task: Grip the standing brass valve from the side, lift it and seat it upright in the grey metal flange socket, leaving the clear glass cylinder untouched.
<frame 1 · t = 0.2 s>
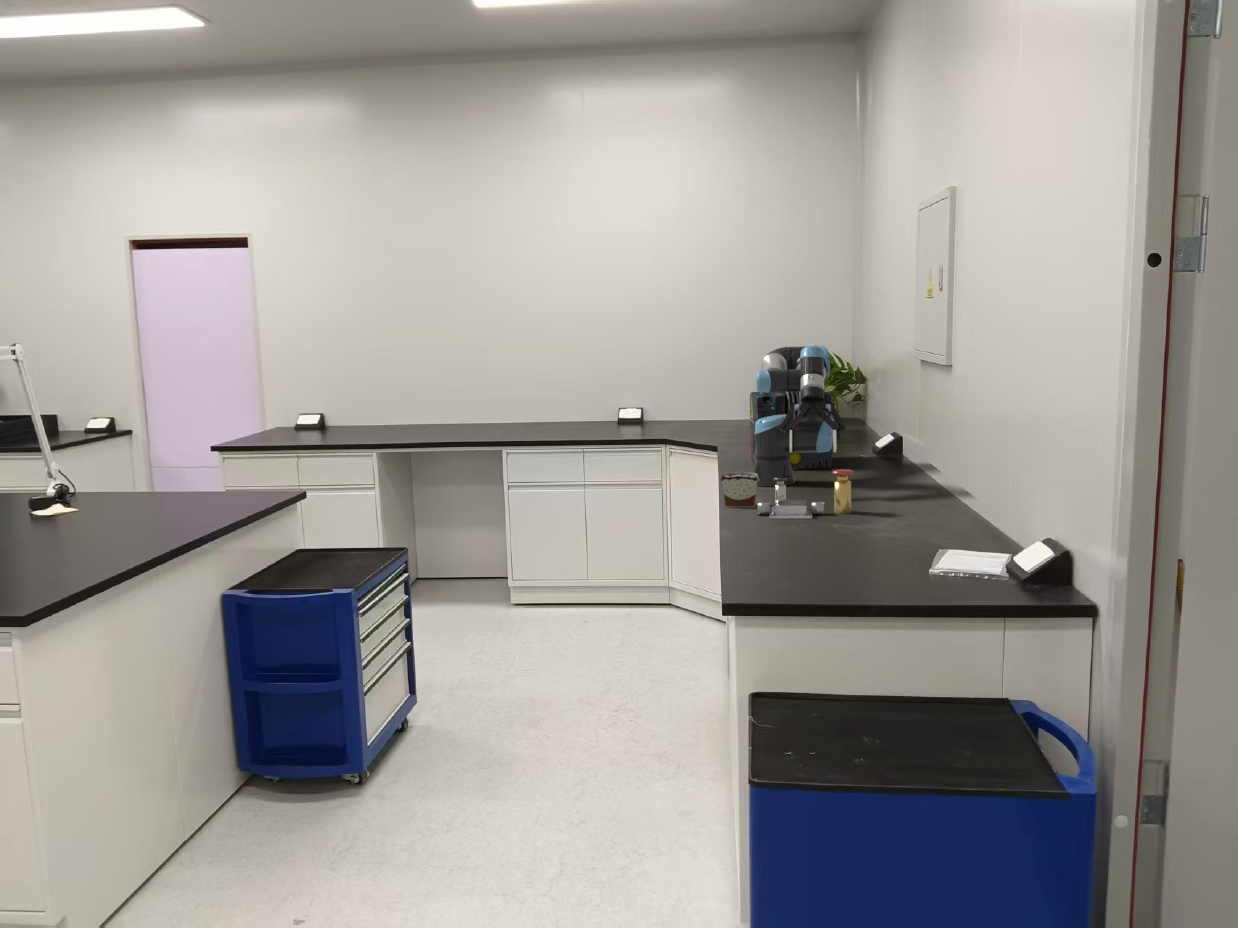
hand: (812, 450, 305), 15 cm above the worktop, fingers open, 13 cm apart
food container: (741, 505, 301), on the worktop
power unit: (790, 464, 378), on the worktop
clear glass cylinder: (780, 505, 298), on the worktop
flange socket: (790, 514, 285), on the worktop
brass valve: (842, 512, 285), on the worktop
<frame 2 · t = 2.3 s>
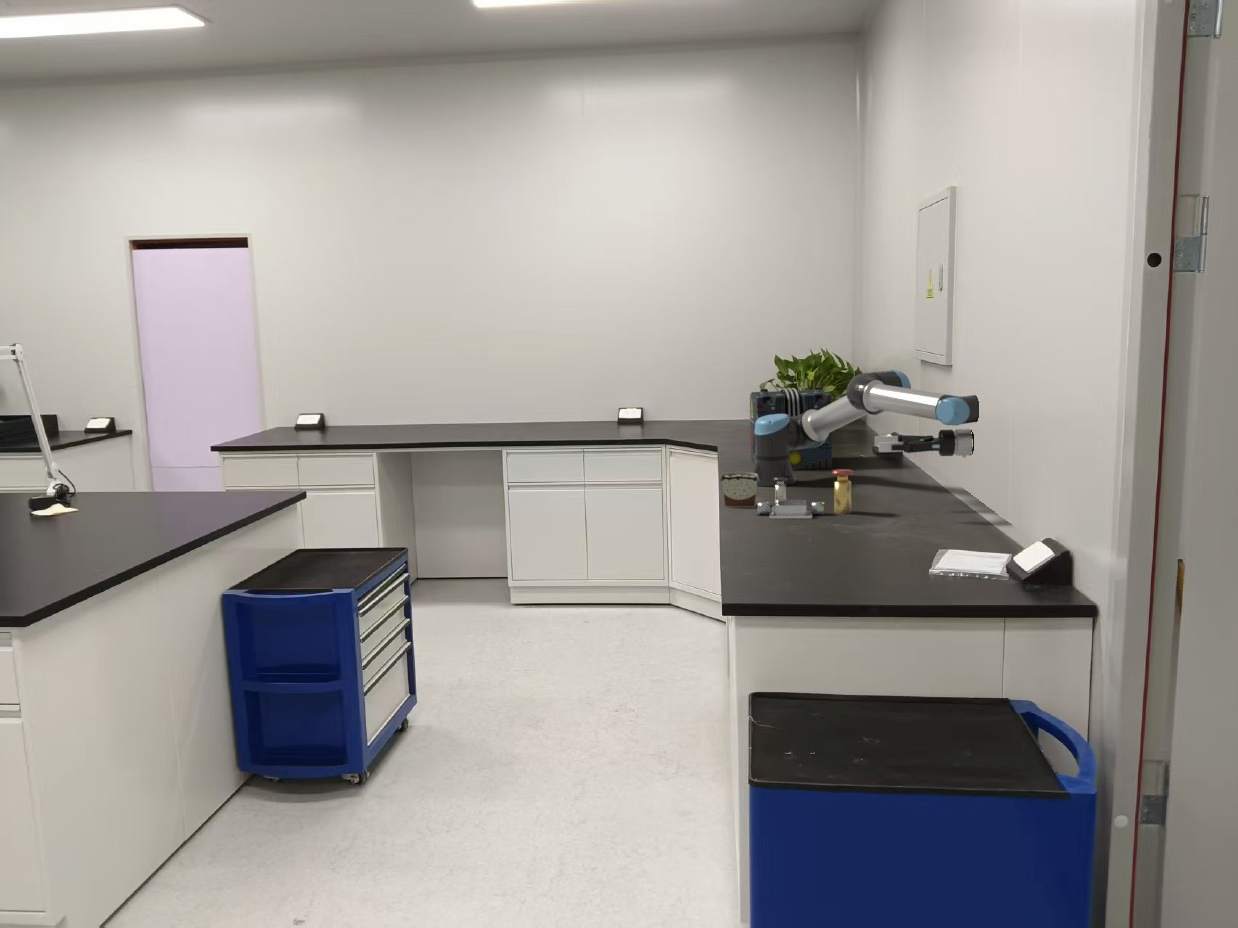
hand: (876, 444, 280), 20 cm above the worktop, fingers open, 13 cm apart
nothing on the worktop moved.
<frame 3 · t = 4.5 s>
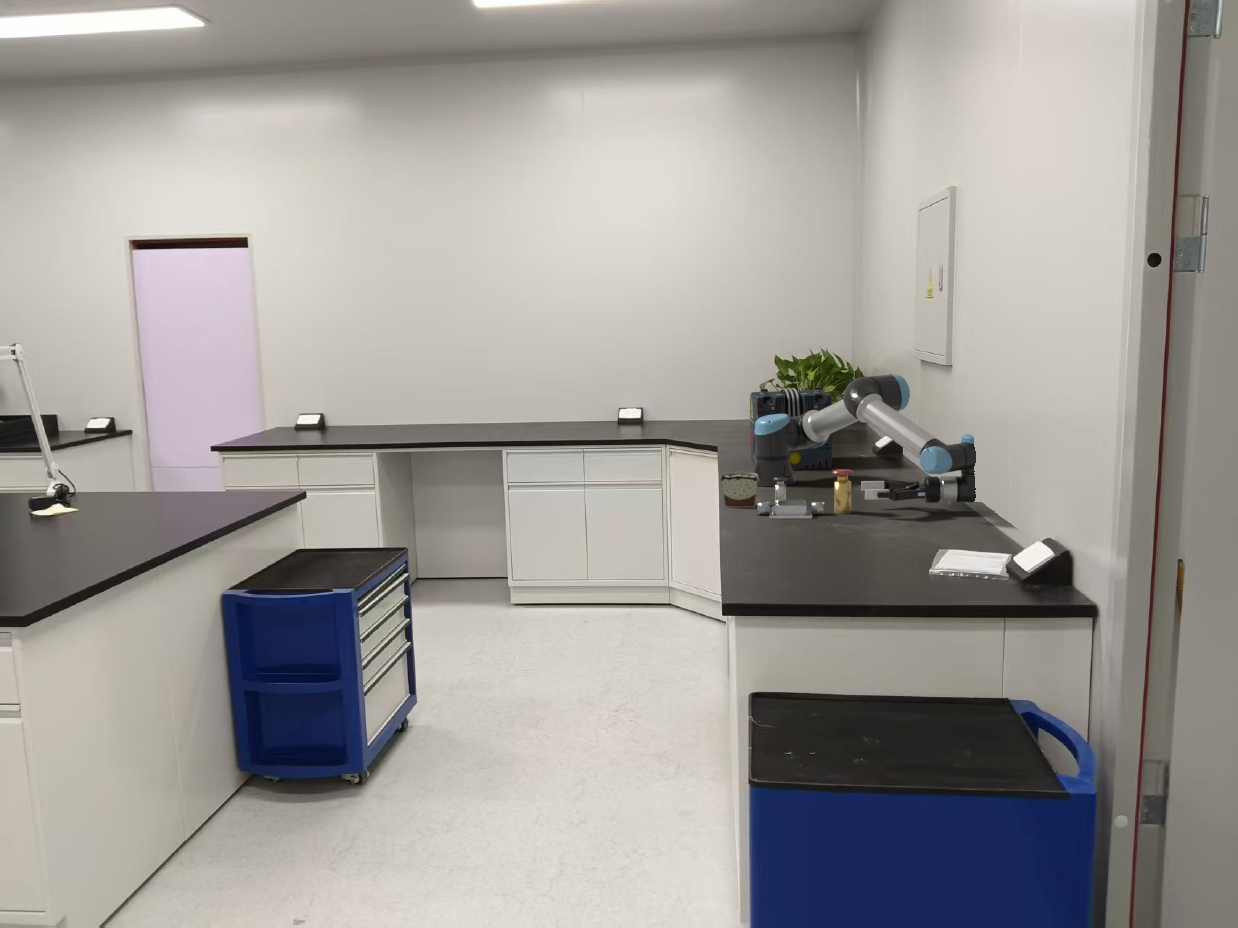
hand: (863, 490, 282), 7 cm above the worktop, fingers open, 13 cm apart
nothing on the worktop moved.
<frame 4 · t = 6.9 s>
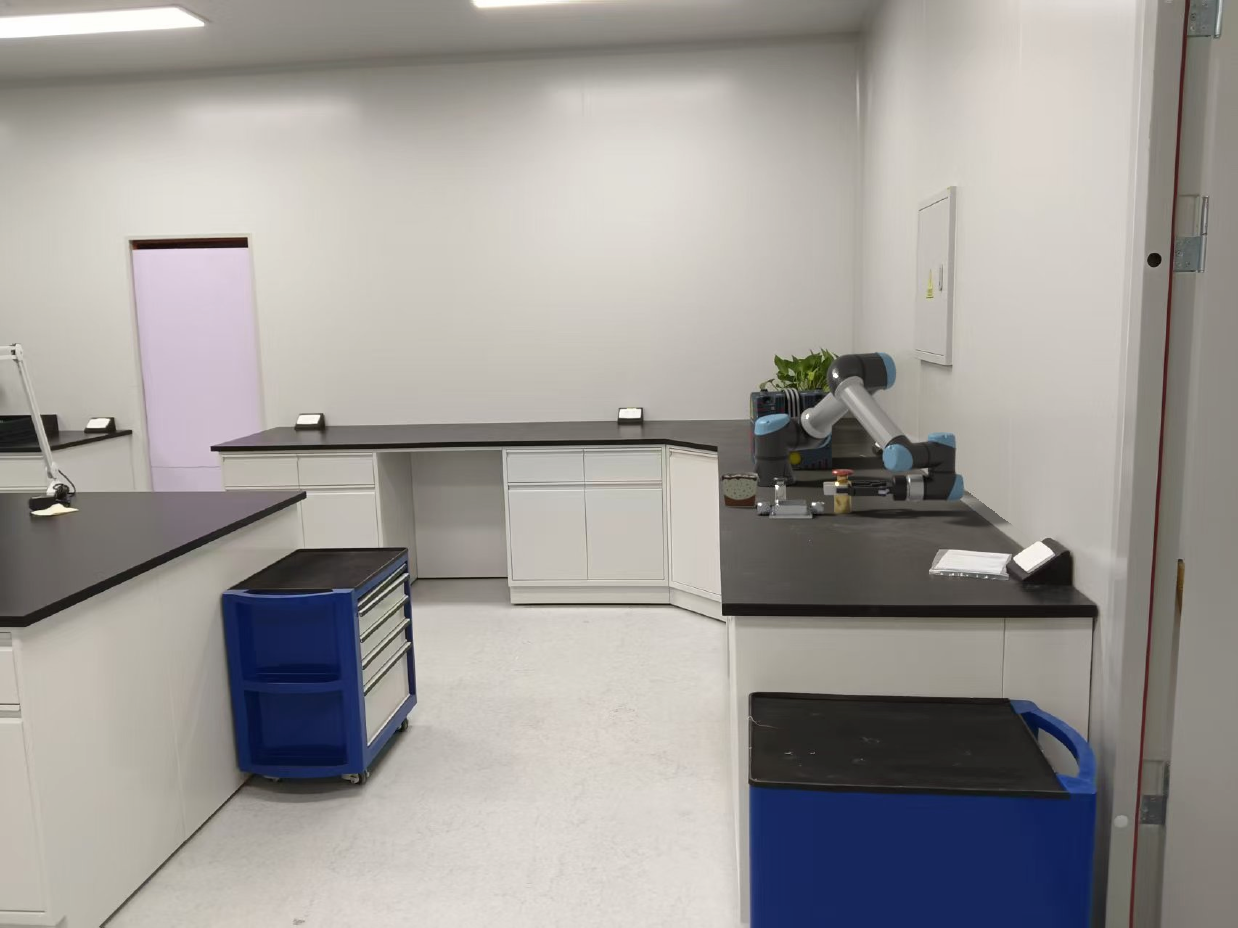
hand: (824, 488, 285), 7 cm above the worktop, fingers closed on brass valve, 5 cm apart
brass valve: (842, 512, 285), on the worktop, touching gripper
everything else where it was.
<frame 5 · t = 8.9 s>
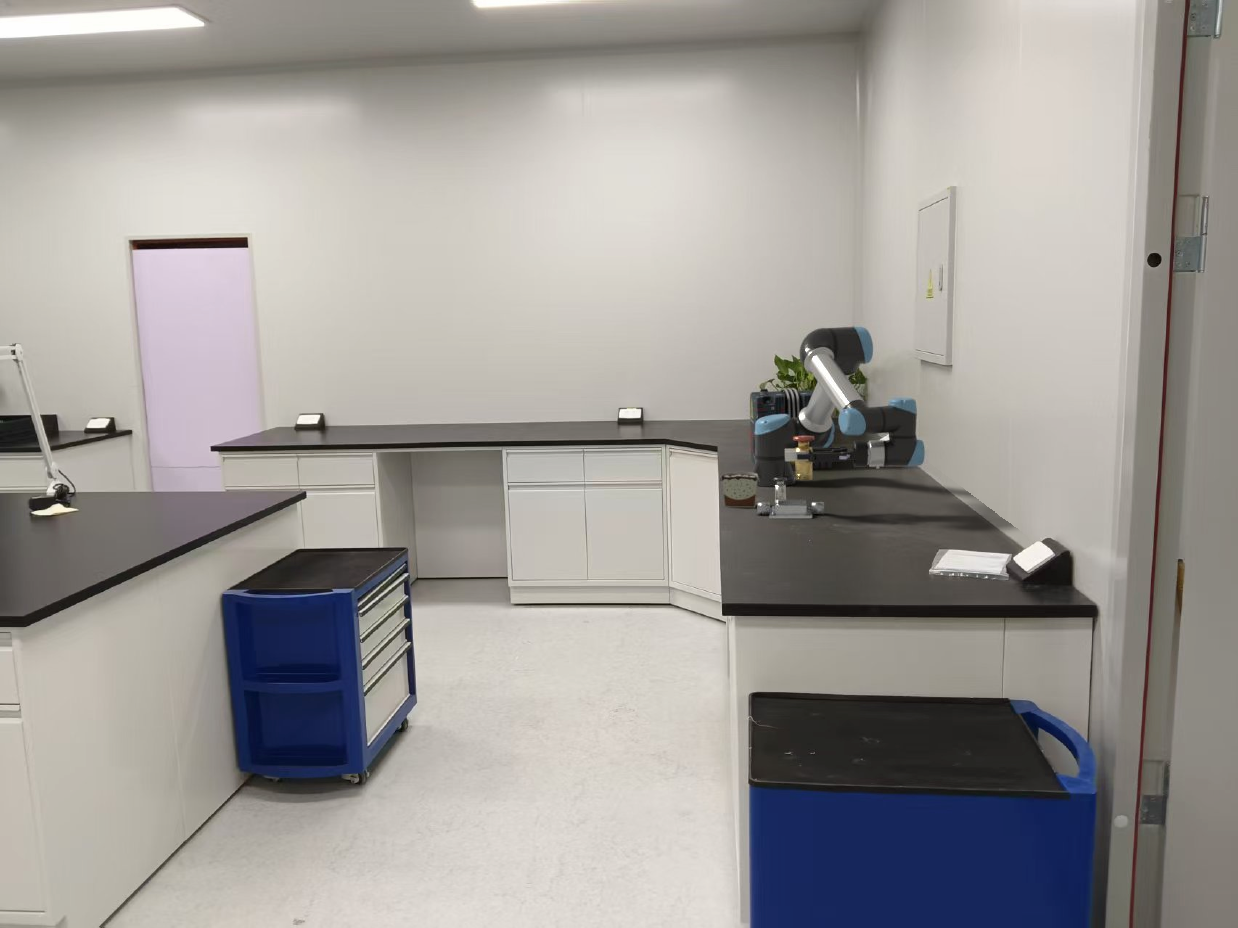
hand: (785, 455, 282), 18 cm above the worktop, fingers closed on brass valve, 5 cm apart
brass valve: (804, 478, 282), point 10 cm above the worktop, touching gripper
everything else where it was.
when the fingers open (9 cm above the worktop, at t = 11.1 s): brass valve drops 1 cm, resting on flange socket.
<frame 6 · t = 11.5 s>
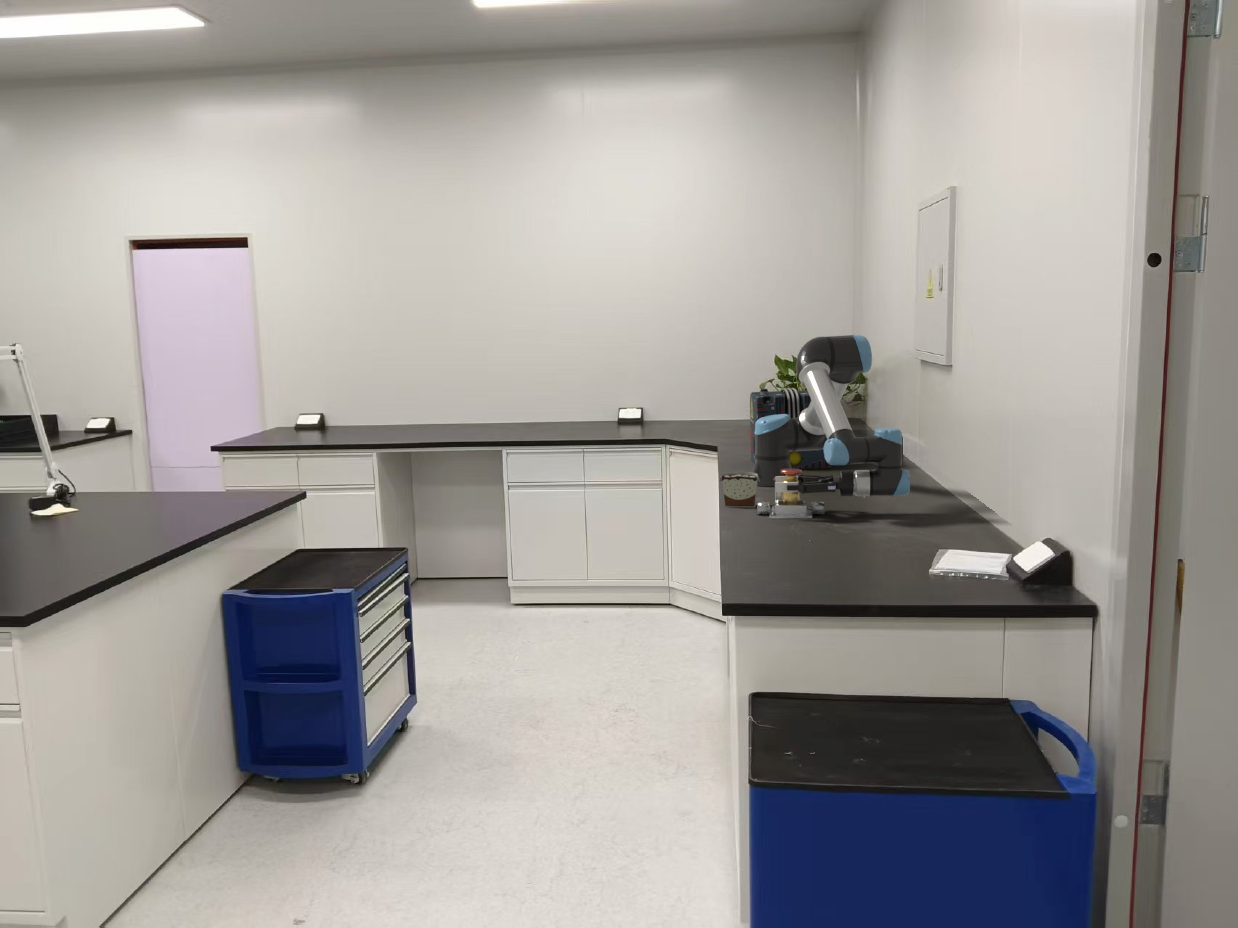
hand: (775, 484, 284), 9 cm above the worktop, fingers open, 10 cm apart
brass valve: (790, 511, 284), point 1 cm above the worktop, touching flange socket
everything else where it was.
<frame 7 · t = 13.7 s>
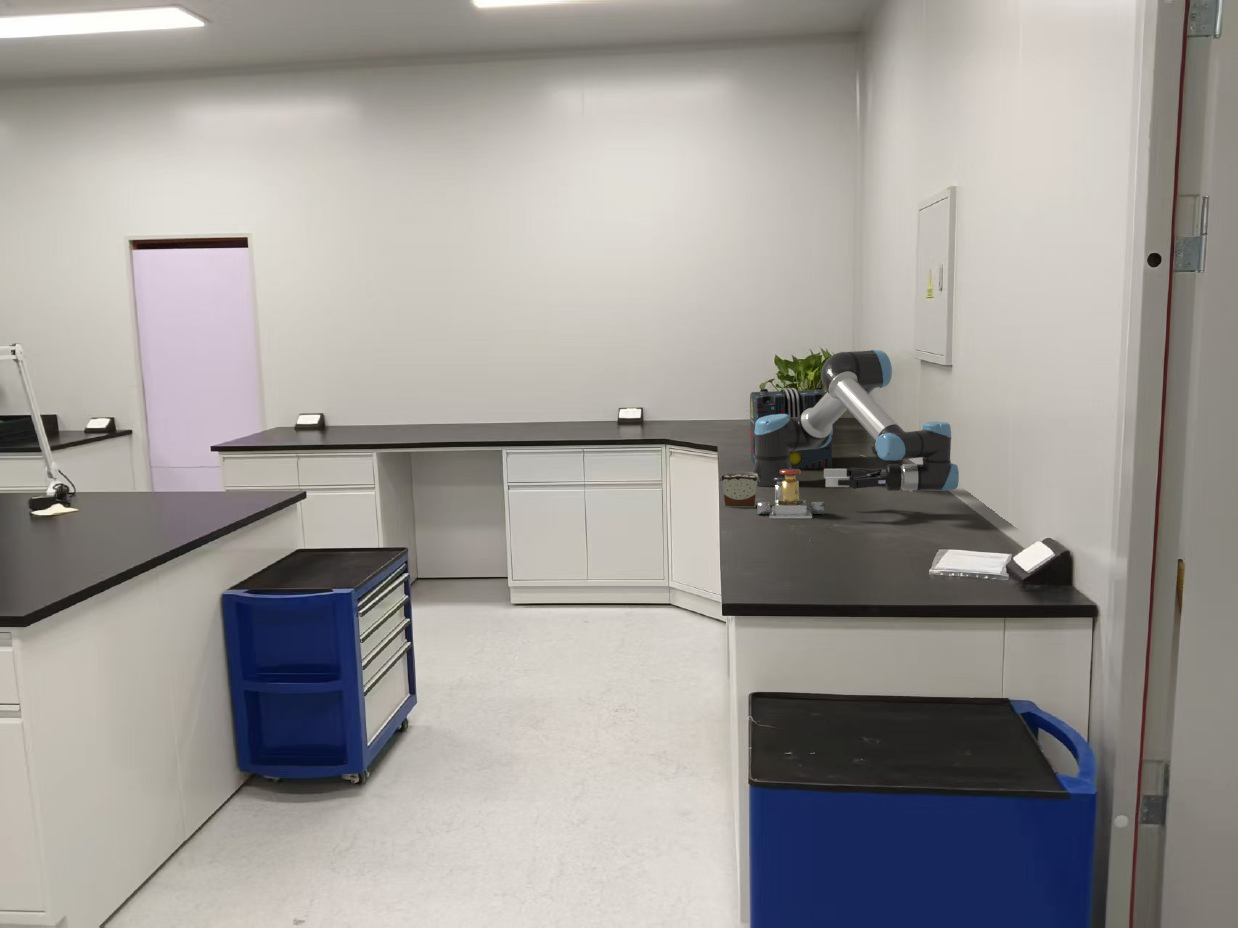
hand: (824, 477, 281), 11 cm above the worktop, fingers open, 13 cm apart
nothing on the worktop moved.
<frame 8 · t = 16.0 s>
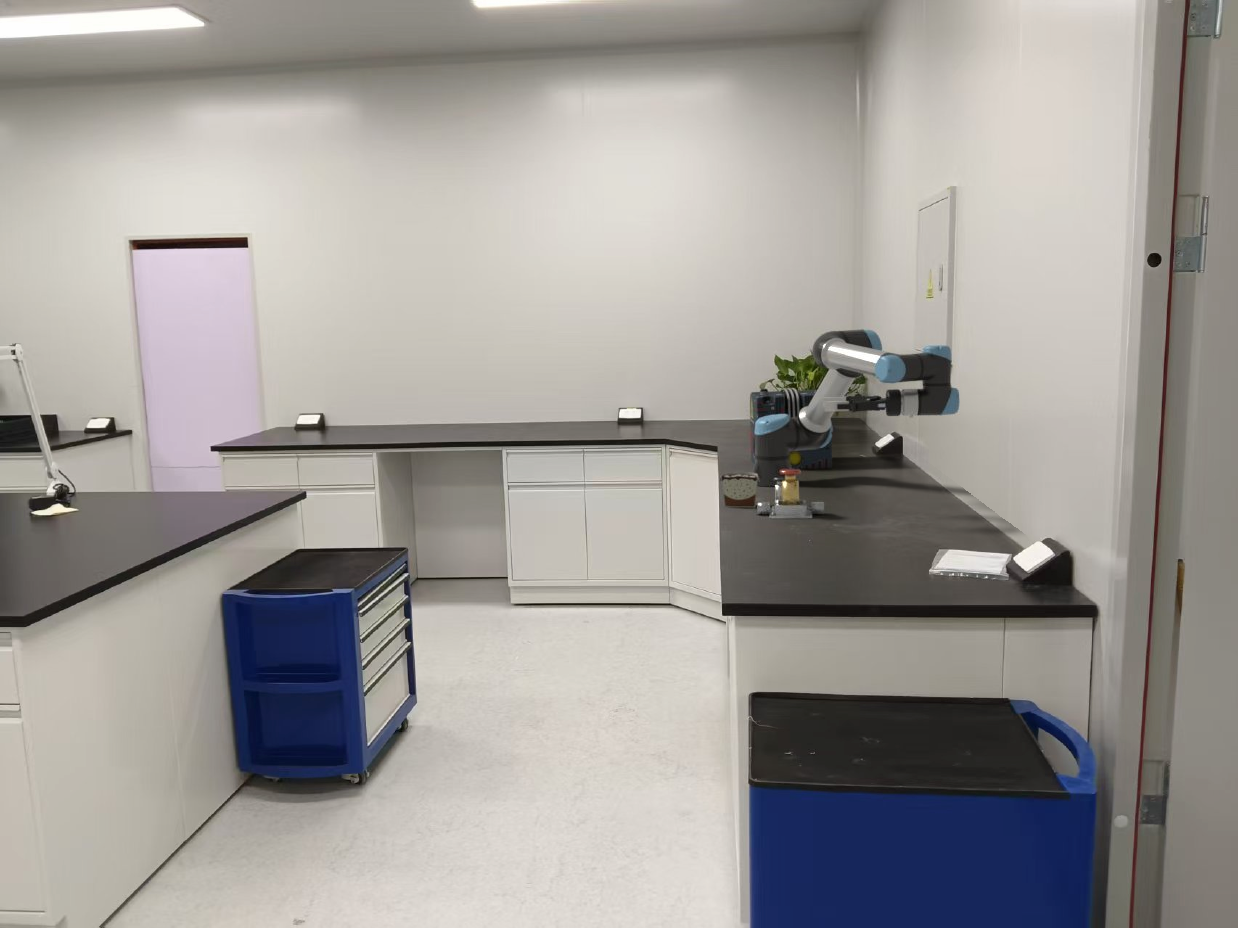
hand: (823, 404, 278), 32 cm above the worktop, fingers open, 13 cm apart
nothing on the worktop moved.
at the end: brass valve 0.0 cm off-centre on the flange socket, point 0.8 cm above the flange socket's base; brass valve tilted 0°; the gripper is holding nothing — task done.
